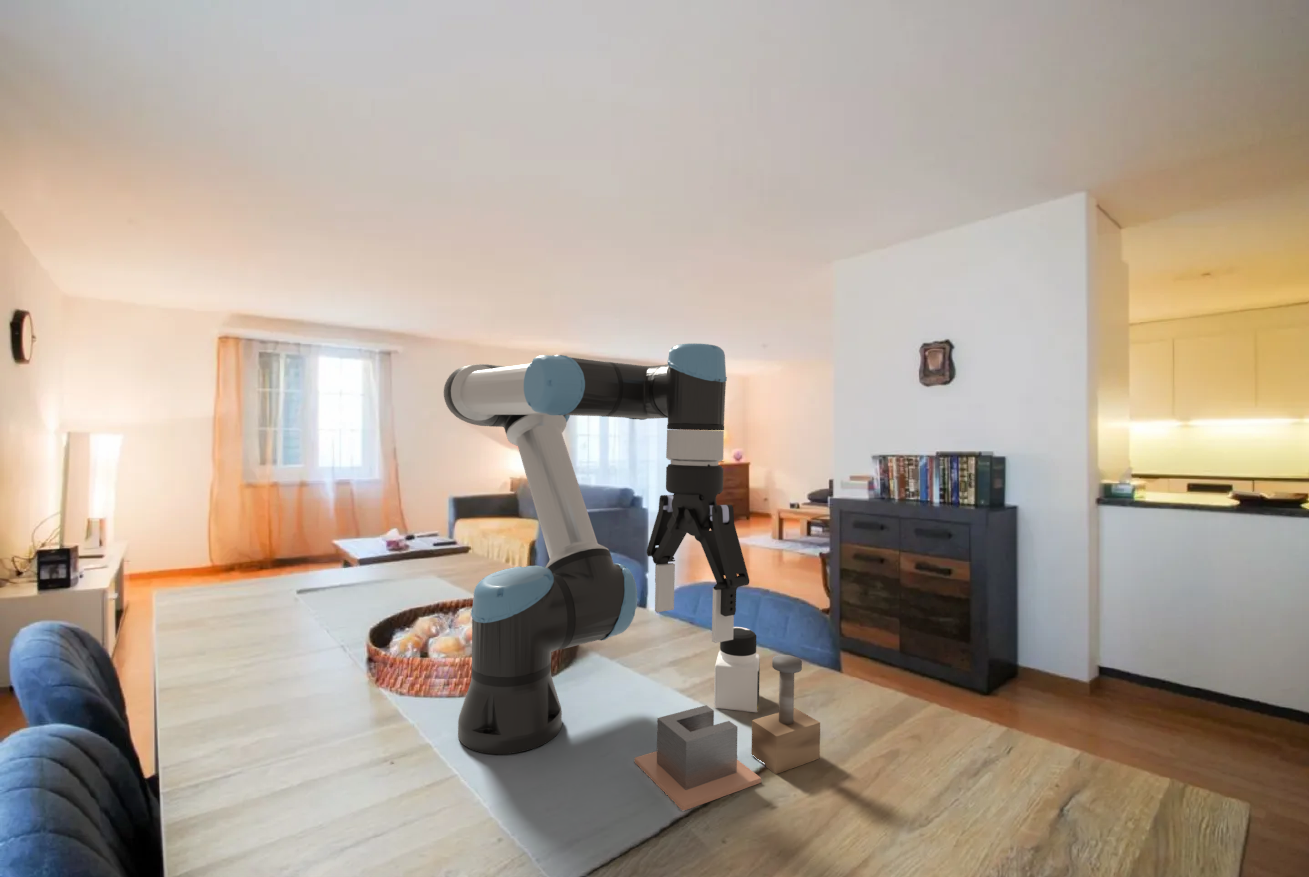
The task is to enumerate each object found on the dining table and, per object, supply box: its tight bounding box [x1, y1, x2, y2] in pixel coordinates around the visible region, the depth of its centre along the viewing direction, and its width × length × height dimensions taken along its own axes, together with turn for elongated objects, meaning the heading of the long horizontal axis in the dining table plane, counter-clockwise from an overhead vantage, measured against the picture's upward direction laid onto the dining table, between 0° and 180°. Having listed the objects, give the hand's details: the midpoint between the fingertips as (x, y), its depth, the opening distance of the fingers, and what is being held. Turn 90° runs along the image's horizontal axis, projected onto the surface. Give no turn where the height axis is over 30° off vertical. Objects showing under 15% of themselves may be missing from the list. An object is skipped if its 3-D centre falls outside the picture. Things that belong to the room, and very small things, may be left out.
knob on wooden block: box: [750, 654, 821, 775], centre depth 81 cm, size 5×8×14 cm, turn 120°
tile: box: [634, 750, 762, 812], centre depth 77 cm, size 12×12×1 cm
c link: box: [656, 704, 738, 790], centre depth 77 cm, size 8×7×6 cm
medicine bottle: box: [713, 626, 761, 713], centre depth 99 cm, size 7×7×12 cm
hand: (691, 624), depth 77 cm, fingers open, 13 cm apart
